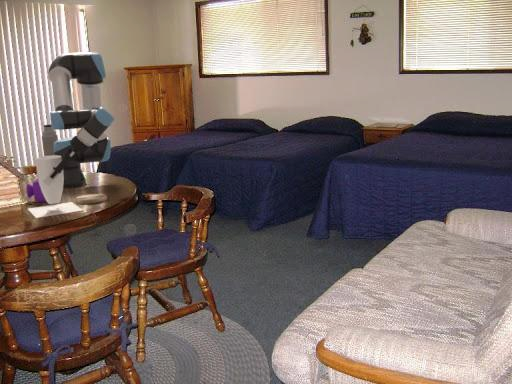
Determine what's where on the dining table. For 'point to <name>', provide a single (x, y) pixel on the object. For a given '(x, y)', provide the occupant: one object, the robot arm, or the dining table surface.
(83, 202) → the coaster
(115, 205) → the dining table surface
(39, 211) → the board
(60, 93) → the robot arm
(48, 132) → the thermos bottle
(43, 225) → the dining table surface
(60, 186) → the cup
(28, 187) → the toy camera
